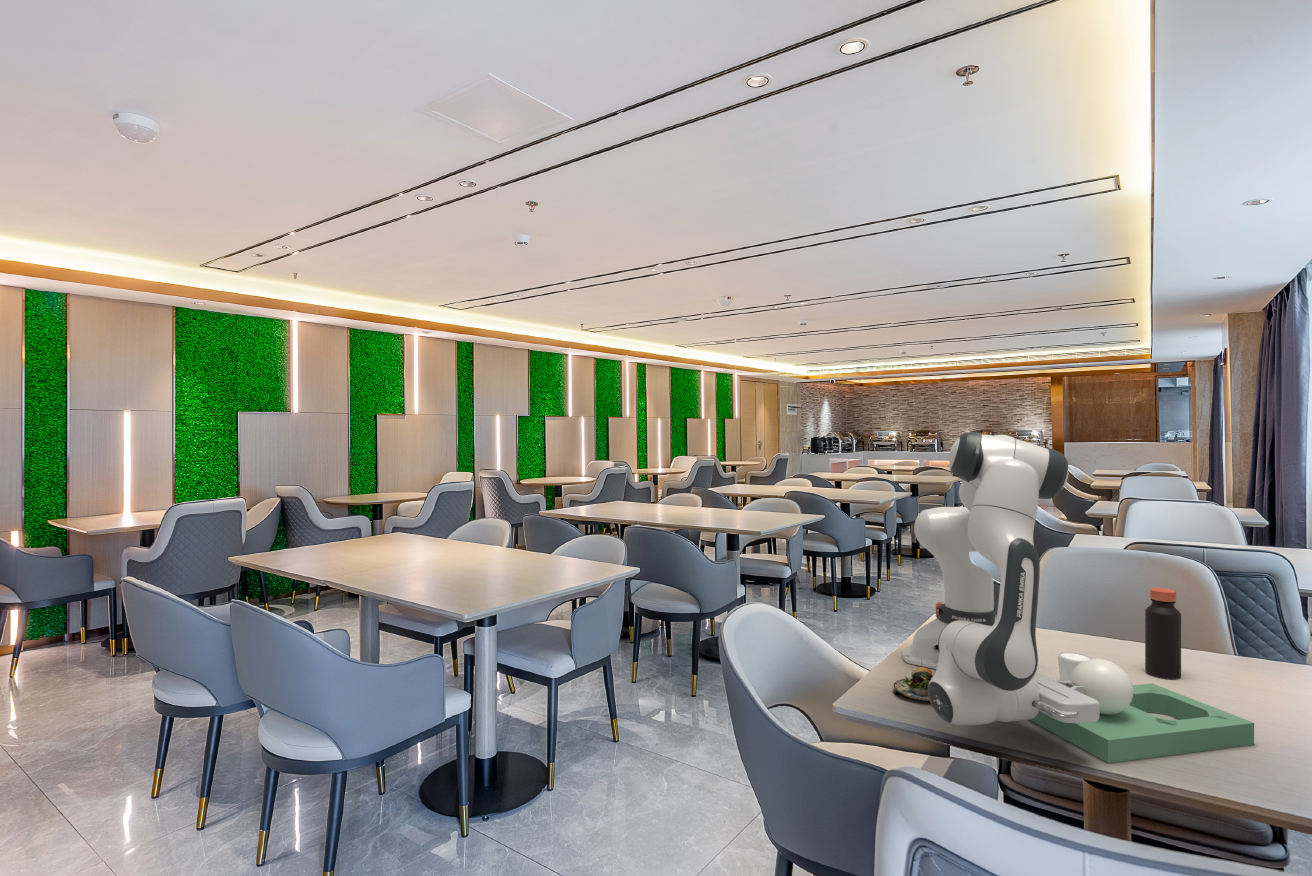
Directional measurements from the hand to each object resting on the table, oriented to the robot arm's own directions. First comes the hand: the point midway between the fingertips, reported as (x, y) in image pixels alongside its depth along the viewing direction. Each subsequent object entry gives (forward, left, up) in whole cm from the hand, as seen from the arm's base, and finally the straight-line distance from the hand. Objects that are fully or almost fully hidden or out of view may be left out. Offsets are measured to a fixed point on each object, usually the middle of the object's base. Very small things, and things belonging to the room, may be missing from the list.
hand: (1078, 688), depth 127 cm
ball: (+4, +3, 0) cm, 5 cm away
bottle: (+21, +47, -9) cm, 52 cm away
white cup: (+2, +28, -9) cm, 29 cm away
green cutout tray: (+10, +8, -9) cm, 15 cm away
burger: (-28, +8, -10) cm, 31 cm away
